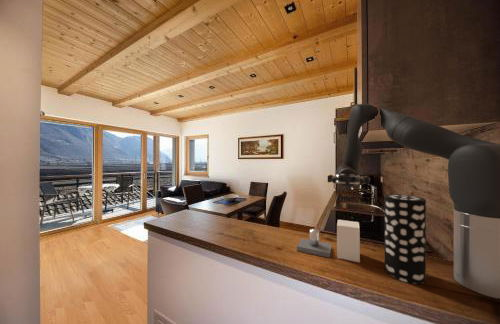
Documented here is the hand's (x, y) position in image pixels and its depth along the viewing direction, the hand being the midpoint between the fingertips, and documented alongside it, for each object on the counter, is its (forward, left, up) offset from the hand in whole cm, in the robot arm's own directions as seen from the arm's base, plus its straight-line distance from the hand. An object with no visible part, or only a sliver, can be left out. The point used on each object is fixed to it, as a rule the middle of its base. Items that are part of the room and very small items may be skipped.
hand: (347, 181), depth 69 cm
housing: (0, +11, -22) cm, 25 cm away
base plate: (+10, +11, -22) cm, 27 cm away
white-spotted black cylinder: (-13, +15, -22) cm, 30 cm away
